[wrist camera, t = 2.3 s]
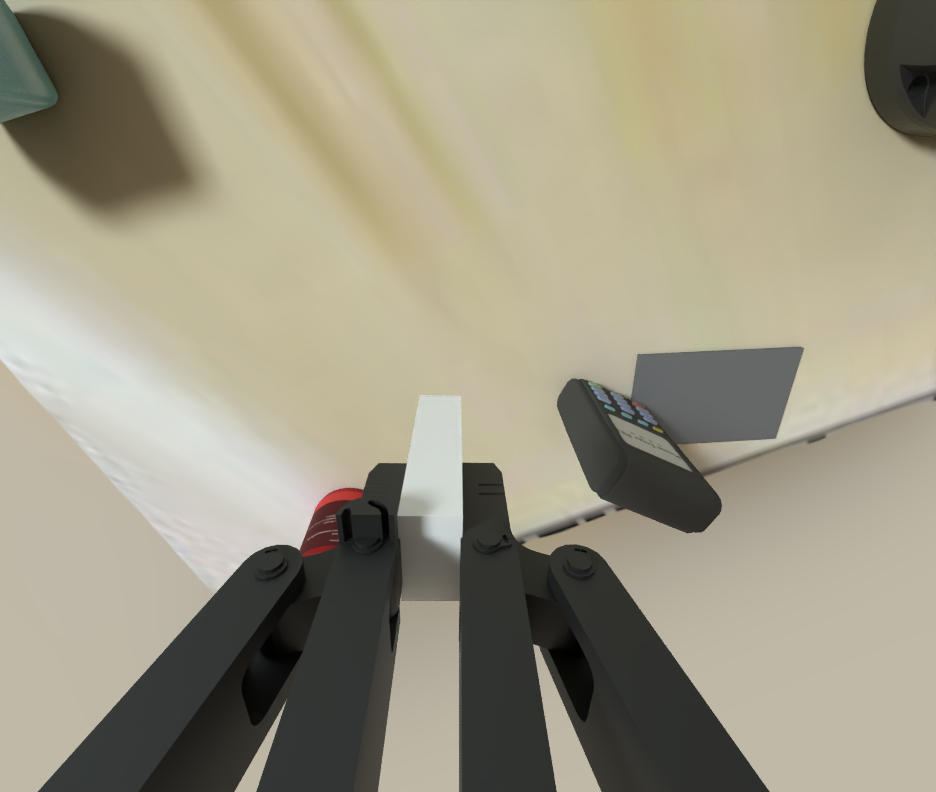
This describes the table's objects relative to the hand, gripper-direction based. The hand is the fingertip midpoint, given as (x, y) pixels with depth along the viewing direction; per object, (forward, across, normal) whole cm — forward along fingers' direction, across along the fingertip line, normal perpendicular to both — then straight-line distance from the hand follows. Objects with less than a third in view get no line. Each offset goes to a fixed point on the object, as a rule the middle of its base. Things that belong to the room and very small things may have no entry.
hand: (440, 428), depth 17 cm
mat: (+25, +26, -10) cm, 38 cm away
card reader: (+25, +15, -11) cm, 31 cm away
